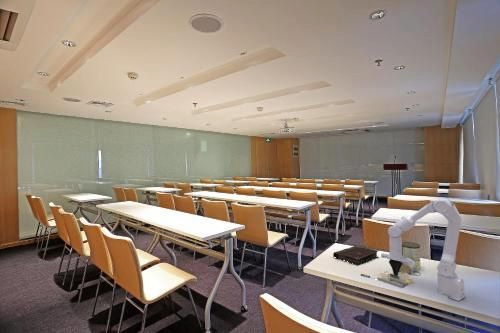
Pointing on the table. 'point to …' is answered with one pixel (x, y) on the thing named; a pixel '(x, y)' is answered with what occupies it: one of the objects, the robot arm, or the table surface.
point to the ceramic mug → (409, 268)
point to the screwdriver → (367, 276)
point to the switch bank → (401, 282)
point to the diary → (356, 255)
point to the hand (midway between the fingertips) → (396, 274)
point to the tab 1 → (385, 275)
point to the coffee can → (411, 252)
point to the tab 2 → (403, 276)
